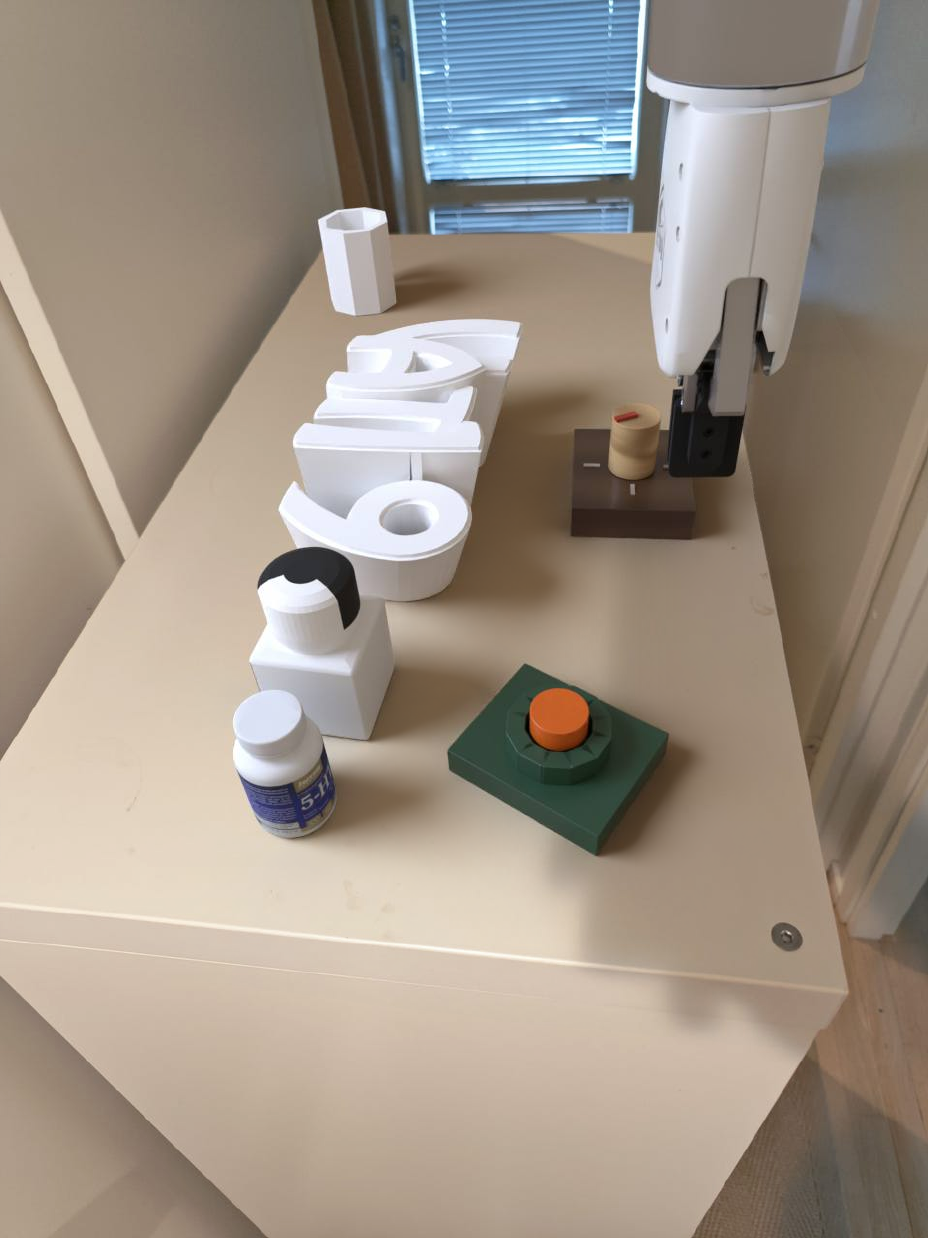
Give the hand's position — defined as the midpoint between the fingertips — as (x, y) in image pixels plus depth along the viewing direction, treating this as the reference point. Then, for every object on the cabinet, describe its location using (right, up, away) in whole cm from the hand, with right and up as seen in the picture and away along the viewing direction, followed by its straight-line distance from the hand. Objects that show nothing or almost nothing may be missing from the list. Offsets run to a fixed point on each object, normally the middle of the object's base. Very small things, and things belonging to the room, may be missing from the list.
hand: (699, 467), depth 42 cm
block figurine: (-21, -13, +18) cm, 31 cm away
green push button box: (-6, -17, +13) cm, 22 cm away
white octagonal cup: (-24, +34, +66) cm, 77 cm away
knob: (+3, +6, +31) cm, 31 cm away
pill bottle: (-22, -20, +12) cm, 32 cm away
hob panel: (+3, +3, +33) cm, 33 cm away
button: (-6, -14, +10) cm, 19 cm away
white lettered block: (-16, +4, +35) cm, 38 cm away
